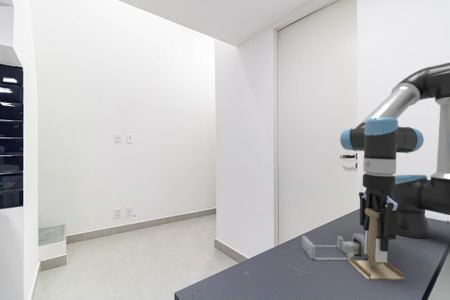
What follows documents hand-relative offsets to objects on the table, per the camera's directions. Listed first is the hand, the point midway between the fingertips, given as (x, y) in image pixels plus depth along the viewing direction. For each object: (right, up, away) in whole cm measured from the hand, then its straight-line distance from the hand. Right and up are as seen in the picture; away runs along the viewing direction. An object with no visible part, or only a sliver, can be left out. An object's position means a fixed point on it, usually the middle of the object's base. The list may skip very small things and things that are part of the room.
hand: (375, 257), depth 66 cm
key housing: (+4, -3, +10) cm, 11 cm away
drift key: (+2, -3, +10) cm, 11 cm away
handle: (0, -2, 0) cm, 2 cm away
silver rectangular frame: (-9, -3, +10) cm, 14 cm away
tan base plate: (0, -4, 0) cm, 4 cm away
